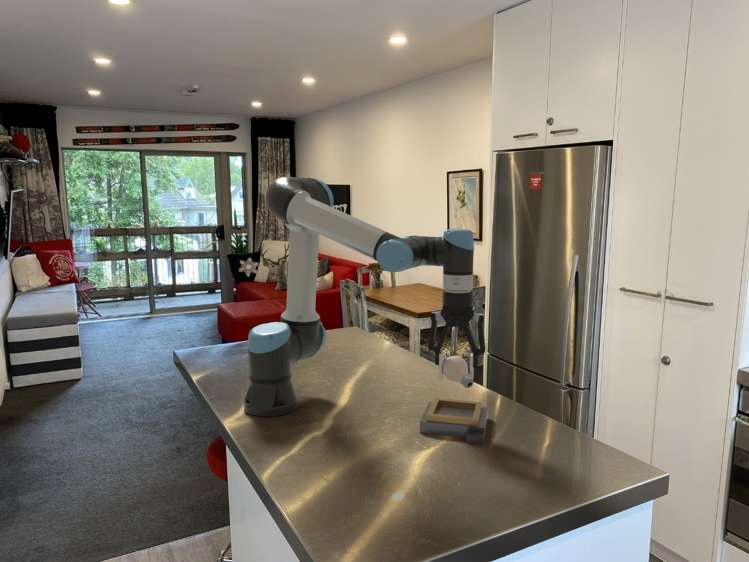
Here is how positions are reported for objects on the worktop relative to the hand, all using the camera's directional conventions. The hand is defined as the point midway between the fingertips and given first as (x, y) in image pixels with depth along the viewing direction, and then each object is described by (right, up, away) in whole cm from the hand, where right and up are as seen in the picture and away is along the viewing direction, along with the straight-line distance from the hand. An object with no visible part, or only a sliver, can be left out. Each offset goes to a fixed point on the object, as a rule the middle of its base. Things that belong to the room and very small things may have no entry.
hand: (456, 377), depth 143 cm
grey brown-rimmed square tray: (0, -13, +2) cm, 13 cm away
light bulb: (0, -1, -2) cm, 2 cm away
